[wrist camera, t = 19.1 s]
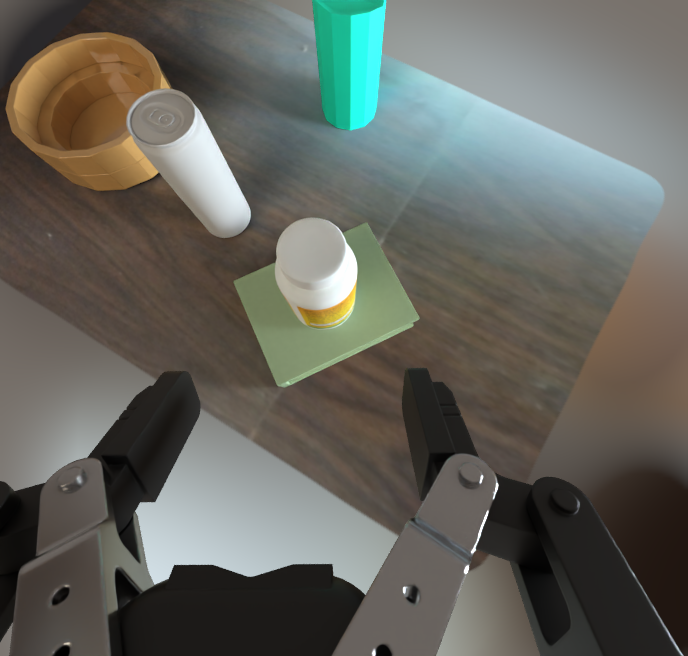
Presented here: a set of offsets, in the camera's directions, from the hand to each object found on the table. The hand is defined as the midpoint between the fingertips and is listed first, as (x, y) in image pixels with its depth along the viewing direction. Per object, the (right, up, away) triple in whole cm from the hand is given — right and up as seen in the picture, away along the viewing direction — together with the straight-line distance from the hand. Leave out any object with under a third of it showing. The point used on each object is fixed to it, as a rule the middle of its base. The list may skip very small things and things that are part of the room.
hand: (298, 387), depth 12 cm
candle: (+2, +27, +23) cm, 36 cm away
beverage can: (-10, +13, +21) cm, 26 cm away
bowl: (-23, +23, +23) cm, 40 cm away
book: (0, +4, +18) cm, 18 cm away
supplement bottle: (0, +4, +15) cm, 16 cm away
